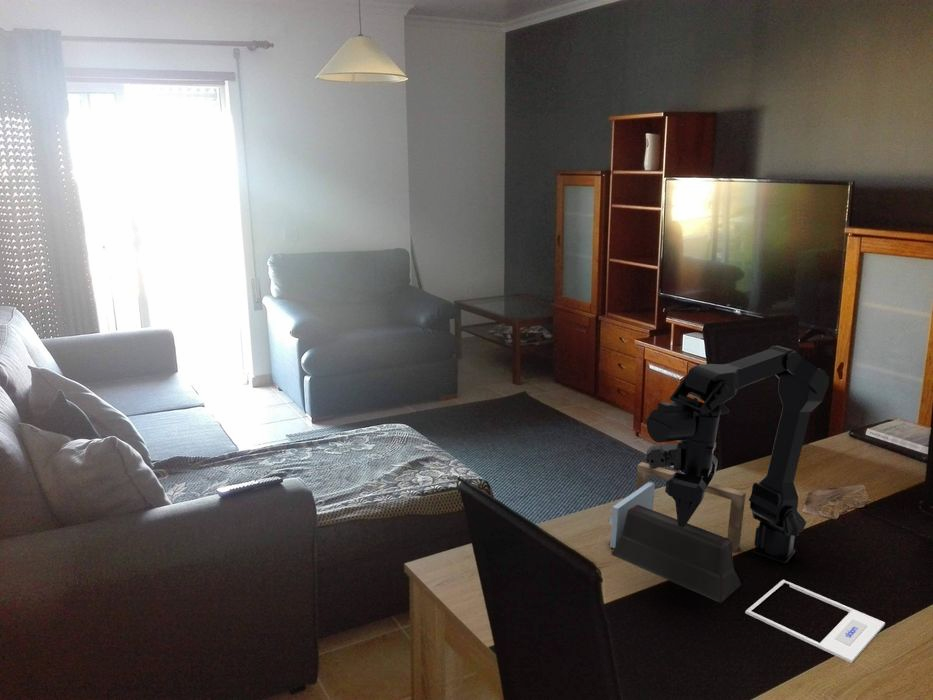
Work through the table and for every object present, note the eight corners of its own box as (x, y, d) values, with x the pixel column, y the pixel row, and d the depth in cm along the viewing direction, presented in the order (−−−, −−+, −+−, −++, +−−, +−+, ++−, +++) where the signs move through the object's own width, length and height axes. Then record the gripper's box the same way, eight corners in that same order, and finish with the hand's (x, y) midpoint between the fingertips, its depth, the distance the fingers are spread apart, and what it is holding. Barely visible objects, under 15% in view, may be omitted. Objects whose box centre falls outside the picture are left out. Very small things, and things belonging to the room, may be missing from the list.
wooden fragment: (826, 524, 164) (826, 520, 164) (781, 505, 173) (782, 501, 173) (890, 497, 178) (890, 493, 178) (846, 480, 187) (846, 476, 187)
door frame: (739, 548, 154) (745, 492, 151) (735, 552, 152) (742, 496, 149) (638, 513, 168) (641, 461, 165) (633, 516, 167) (637, 464, 164)
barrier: (741, 585, 141) (747, 537, 139) (720, 604, 135) (725, 555, 133) (633, 540, 157) (637, 496, 155) (610, 556, 151) (613, 511, 149)
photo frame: (852, 659, 120) (745, 609, 132) (851, 665, 120) (745, 615, 133) (885, 621, 129) (783, 578, 142) (884, 627, 130) (782, 583, 142)
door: (641, 516, 166) (644, 479, 164) (651, 520, 165) (655, 482, 162) (604, 544, 154) (606, 504, 152) (615, 548, 153) (618, 508, 150)
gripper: (664, 414, 146) (652, 489, 149) (642, 441, 129) (630, 524, 133) (723, 427, 141) (710, 504, 144) (708, 456, 125) (694, 541, 128)
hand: (685, 517), depth 138 cm, fingers open, 9 cm apart
